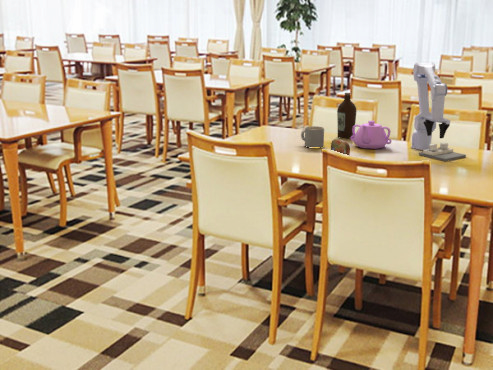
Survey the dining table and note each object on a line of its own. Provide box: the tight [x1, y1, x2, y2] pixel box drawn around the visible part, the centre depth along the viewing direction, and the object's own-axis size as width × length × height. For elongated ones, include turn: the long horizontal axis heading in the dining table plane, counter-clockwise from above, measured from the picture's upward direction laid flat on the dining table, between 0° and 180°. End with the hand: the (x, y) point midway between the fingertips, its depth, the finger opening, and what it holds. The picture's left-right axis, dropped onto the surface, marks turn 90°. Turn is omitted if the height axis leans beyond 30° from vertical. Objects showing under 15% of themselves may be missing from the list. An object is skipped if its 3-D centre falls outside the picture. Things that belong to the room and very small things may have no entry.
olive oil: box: [336, 92, 357, 140], centre depth 342 cm, size 11×11×25 cm
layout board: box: [418, 142, 467, 162], centre depth 297 cm, size 16×15×5 cm
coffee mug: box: [300, 125, 325, 148], centre depth 322 cm, size 13×10×10 cm
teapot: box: [350, 120, 392, 150], centre depth 317 cm, size 22×22×14 cm
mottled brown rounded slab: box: [330, 138, 351, 156], centre depth 297 cm, size 15×3×8 cm, turn 21°
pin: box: [429, 143, 438, 152], centre depth 298 cm, size 4×4×4 cm
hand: (435, 136), depth 297 cm, fingers open, 7 cm apart
